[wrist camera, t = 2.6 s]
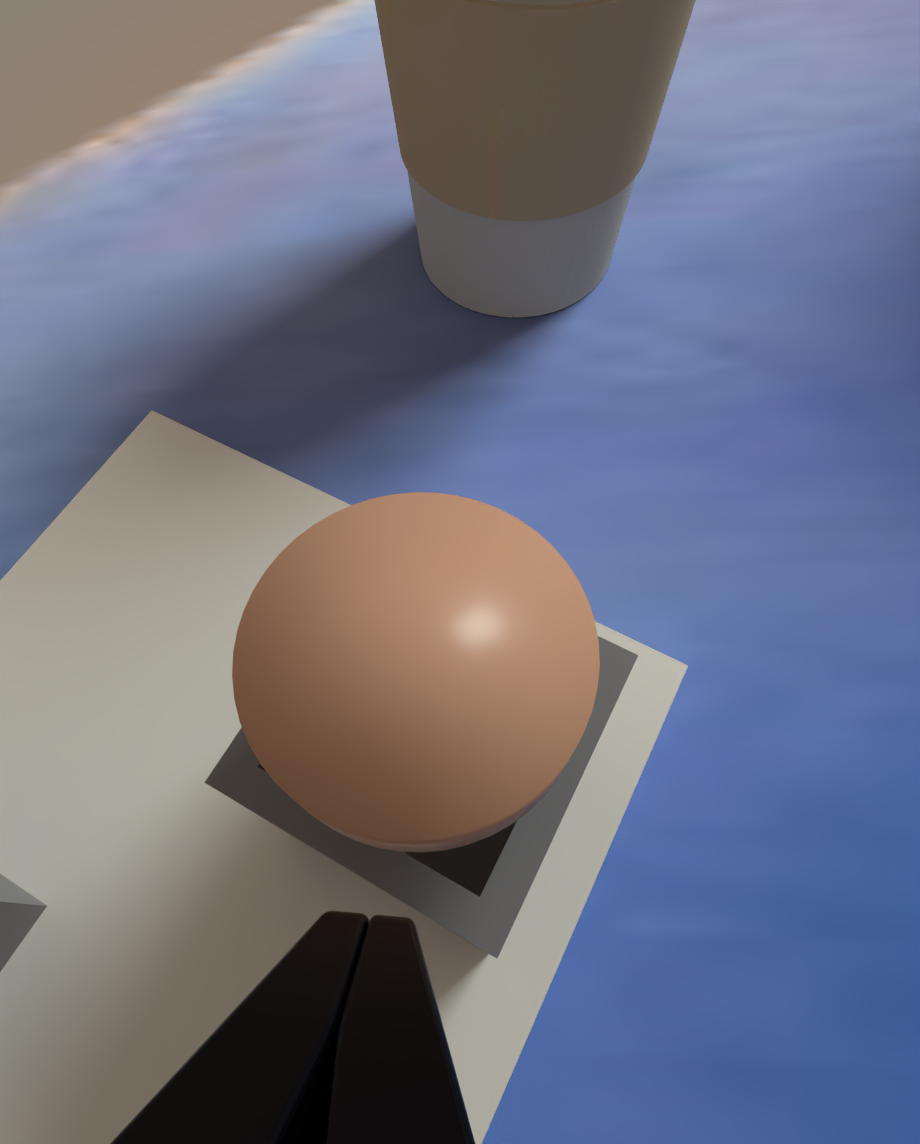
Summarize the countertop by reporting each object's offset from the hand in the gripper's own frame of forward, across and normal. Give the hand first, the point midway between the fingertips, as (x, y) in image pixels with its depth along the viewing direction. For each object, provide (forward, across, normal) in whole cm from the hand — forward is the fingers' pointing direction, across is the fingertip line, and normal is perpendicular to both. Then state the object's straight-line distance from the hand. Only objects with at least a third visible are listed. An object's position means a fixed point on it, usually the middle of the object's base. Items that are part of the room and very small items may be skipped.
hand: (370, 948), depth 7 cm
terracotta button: (+8, 0, +3) cm, 9 cm away
